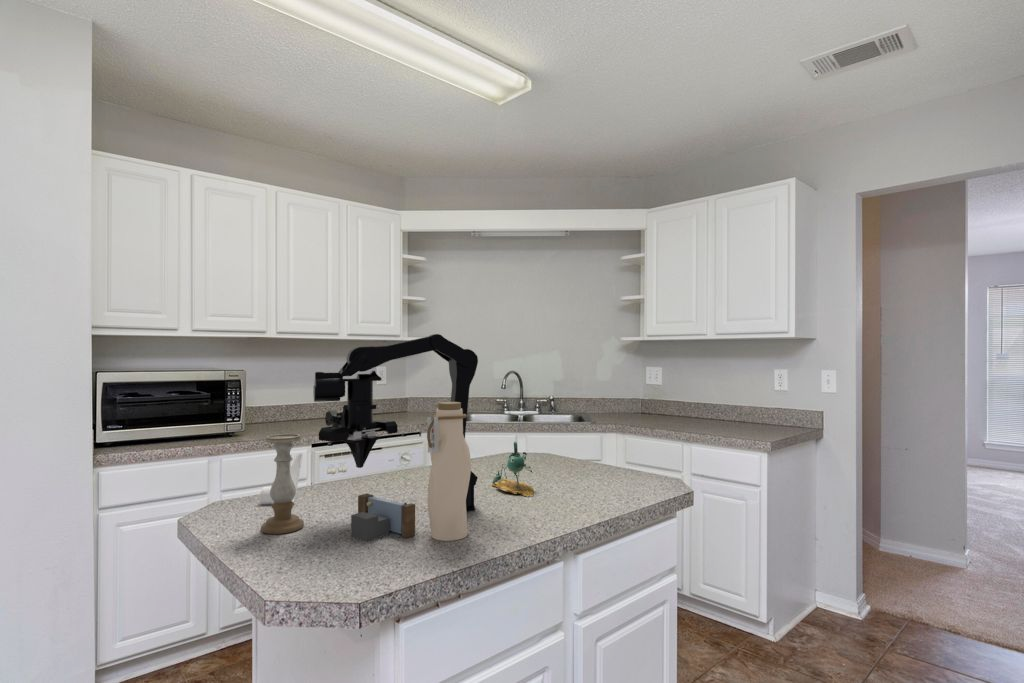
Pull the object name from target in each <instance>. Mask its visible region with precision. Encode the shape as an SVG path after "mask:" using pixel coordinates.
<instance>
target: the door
mask: <svg viewBox="0 0 1024 683" xmlns="http://www.w3.org/2000/svg"><path fill="white" fill-rule="evenodd" d="M403 505H404V503H402V502H397V501H393V500H389V499H386V498H385V499H384V498H380V497H376V496H374V497H369V498H368V502H367V506H368V513H369V514H375V515H379V516H383V517H387V518H389V532H394V533H397V534H400V535H402V506H403Z"/></svg>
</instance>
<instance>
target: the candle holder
mask: <svg viewBox="0 0 1024 683" xmlns="http://www.w3.org/2000/svg"><path fill="white" fill-rule="evenodd" d="M302 436H303V435H301V434H298V433H282V434H281V433H279V434H272V435H271V434H270V435H267V436H265V437H264V442H265V443H268V444H273V445H272V447H273V449H274V450H275V452H276V456H275V458H274V459H273V461H274V462H275V463H276V464H275V465H276V471H275V472H276V473H275V477H274V481H273V482H272V485H271V486H272V487H271V489H270V497H271V499H272V500H273V501H274V503H273V504H270V507H271V509H272V510H273V512H274V514H273V516H270V517H268V518H267V519H266V521H265V522H264V523H262V524H261V525H260V531H261V532H262V533H264V534H267V535H268V534H269V535H281V534H288V533H293V532H296V531H299V530H301V529H302V528H303V527H304V526H305V521H304V520H303V519H302V518H300V516H299V515H297V514H293V513H292V510H293V508H294V506H295V501H294V502H292V499H293V498H294V496H295V495H297V491H296V487H295V484H294V482H293V480H292V478H291V474H290V461H291V462H292V461H294V460H293V457H292V455H291V451H292V449H293V448H294V443H295V442H300V441H302V440H303V439H302V438H303V437H302ZM290 455H291V456H290ZM295 497H296V496H295Z"/></svg>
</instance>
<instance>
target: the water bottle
mask: <svg viewBox="0 0 1024 683" xmlns="http://www.w3.org/2000/svg"><path fill="white" fill-rule="evenodd" d="M466 417H467V418H468V414H467V415H466V414H463V412H462V409H461V403H460V402H451V401H441V402H438V403H437V408H436V412H435V414H434V415H433V416H430V417H429V416H427V422H426V423H427V433H426V439H427V453H430V462H431V467H430V471H429V476H428V484H427V508H428V510H427V512H428V520H429V525H430V536H431V538H433V539H434V540H436V541H442V542H444V541H445V542H446V541H447V542H451V541H457V540H462V539H464V538H466V537H467V536H468V519H467V517H468V516H467V510H466V497H467V492H468V486H469V480H470V473H471V471H472V470H471V469H472V465H471V460H472V459H471V453H470V447H469V445H468V443H467V441H466V437H465V438H464V435H463V418H466Z"/></svg>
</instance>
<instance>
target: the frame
mask: <svg viewBox="0 0 1024 683" xmlns="http://www.w3.org/2000/svg"><path fill="white" fill-rule="evenodd" d="M369 497H375V496H374V494H371V493H363V494H359V495H357V513H360V512H366V513H368V506H367V502H368V498H369ZM403 504H404V505H403V506H402V534H401V537H402V538H404V537H405V539H408V537H409V538H411V537H414V536H416V504H415V503H411V502H410V503H407V502H404V503H403Z"/></svg>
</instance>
